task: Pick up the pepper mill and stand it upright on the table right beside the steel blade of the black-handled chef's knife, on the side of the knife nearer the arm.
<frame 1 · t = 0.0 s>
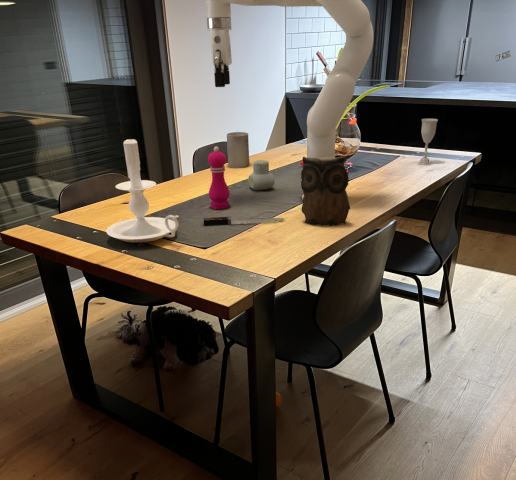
hand: (222, 85, 176), 37 cm above the table, tool pointing down, fingers open, 9 cm apart
pillar candle: (238, 166, 243), on the table
owl: (326, 220, 170), on the table
candlestick: (148, 239, 159), on the table
chalice: (424, 164, 236), on the table
pepper mill: (220, 207, 186), on the table
knife: (240, 222, 170), on the table
air freshener: (261, 189, 206), on the table
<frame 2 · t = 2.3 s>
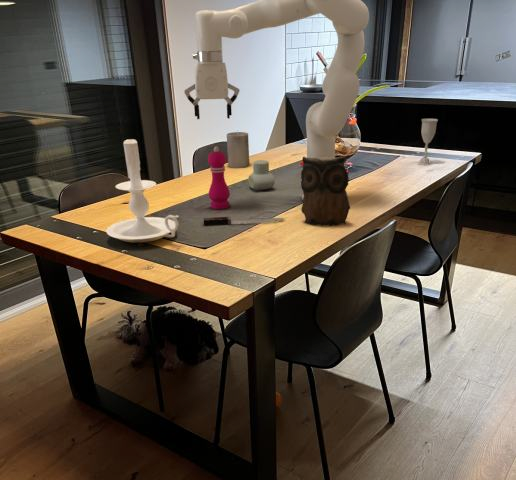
hand: (213, 118, 172), 29 cm above the table, tool pointing down, fingers open, 9 cm apart
nothing on the table moved.
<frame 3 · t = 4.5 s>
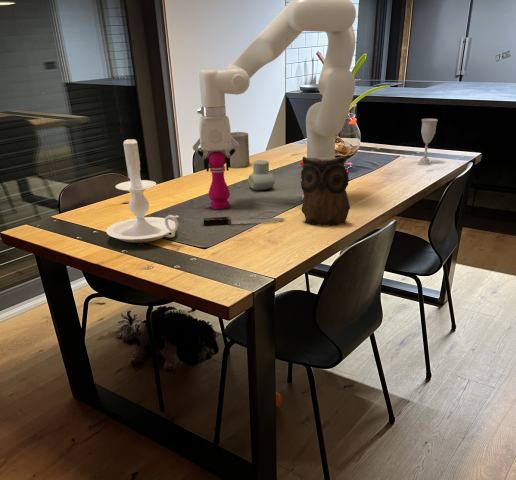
hand: (217, 169, 180), 13 cm above the table, tool pointing down, fingers closed on pepper mill, 6 cm apart
pepper mill: (220, 207, 186), on the table, touching gripper
everything else where it was.
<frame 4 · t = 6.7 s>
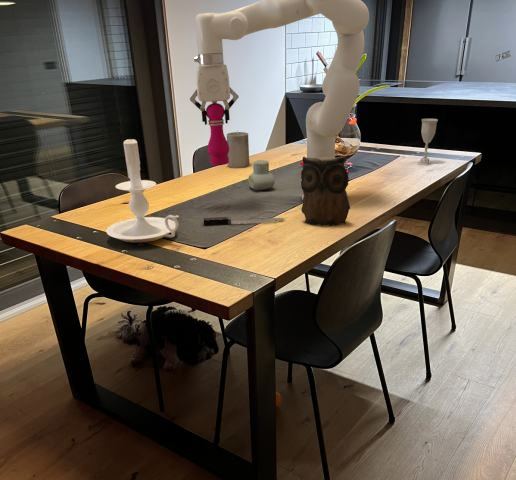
hand: (216, 123, 172), 27 cm above the table, tool pointing down, fingers closed on pepper mill, 6 cm apart
pepper mill: (219, 163, 179), point 14 cm above the table, touching gripper
everything else where it was.
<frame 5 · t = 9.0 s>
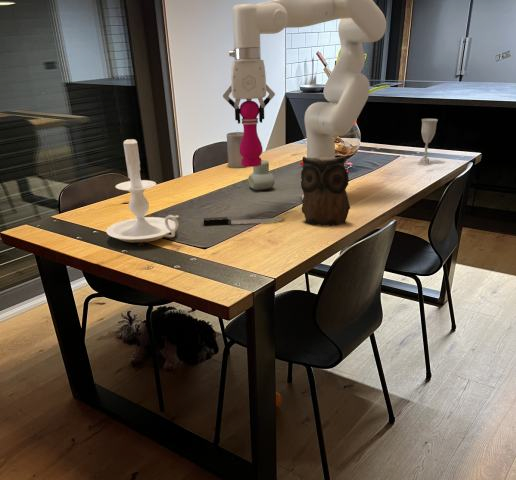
hand: (249, 121, 162), 29 cm above the table, tool pointing down, fingers closed on pepper mill, 6 cm apart
pepper mill: (251, 165, 169), point 16 cm above the table, touching gripper
everything else where it was.
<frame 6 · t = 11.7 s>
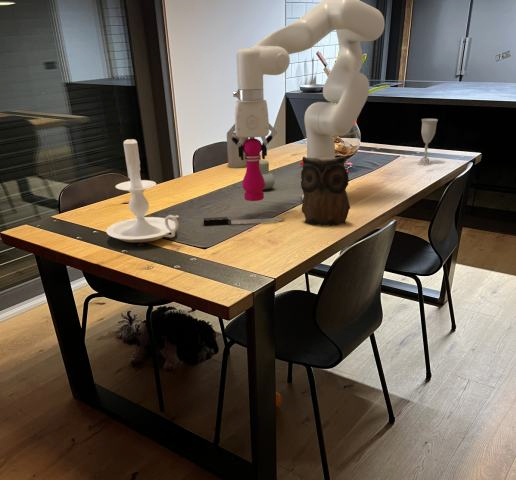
hand: (252, 158, 167), 18 cm above the table, tool pointing down, fingers closed on pepper mill, 6 cm apart
pepper mill: (254, 199, 174), point 5 cm above the table, touching gripper
everything else where it was.
when the fingers open (13 cm above the table, at t = 13.8 s): pepper mill stays where it is, on the table.
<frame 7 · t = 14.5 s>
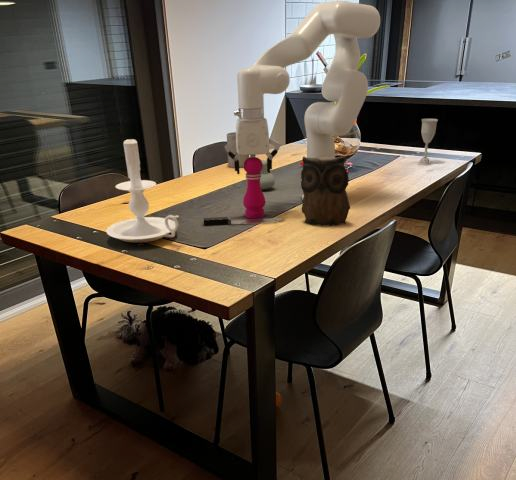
hand: (253, 172, 169), 14 cm above the table, tool pointing down, fingers open, 9 cm apart
pepper mill: (254, 216, 176), on the table
everything else where it was.
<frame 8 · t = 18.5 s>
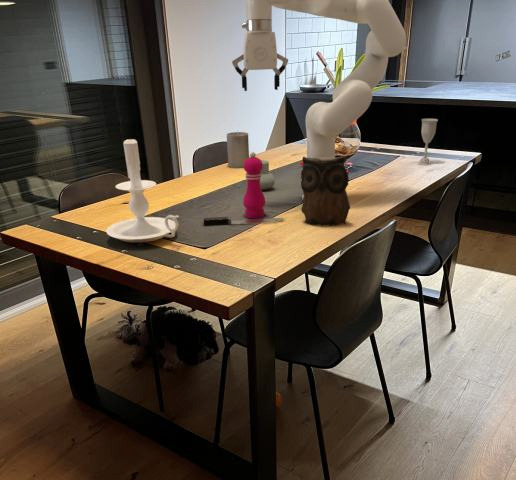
hand: (260, 90, 169), 36 cm above the table, tool pointing down, fingers open, 9 cm apart
nothing on the table moved.
at the end: pepper mill inside the target area on the table beside the knife (0.5 cm from its centre), on the table; pepper mill tilted 0°; the gripper is holding nothing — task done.
